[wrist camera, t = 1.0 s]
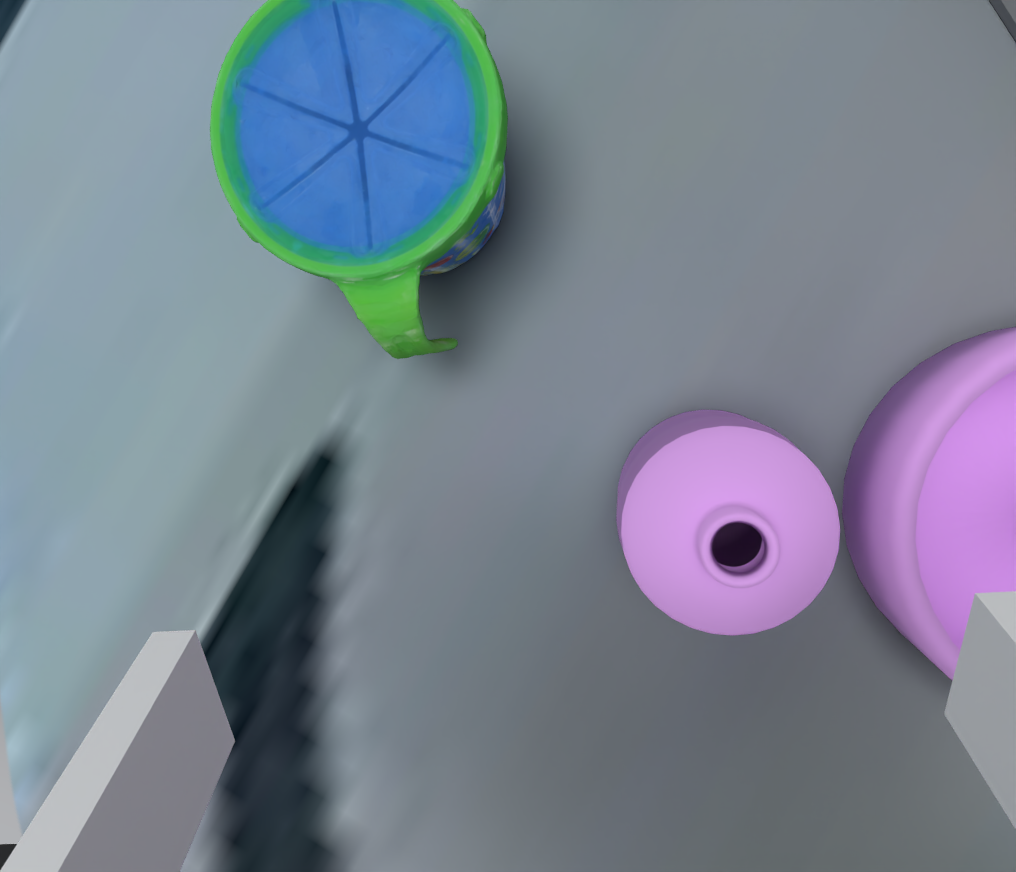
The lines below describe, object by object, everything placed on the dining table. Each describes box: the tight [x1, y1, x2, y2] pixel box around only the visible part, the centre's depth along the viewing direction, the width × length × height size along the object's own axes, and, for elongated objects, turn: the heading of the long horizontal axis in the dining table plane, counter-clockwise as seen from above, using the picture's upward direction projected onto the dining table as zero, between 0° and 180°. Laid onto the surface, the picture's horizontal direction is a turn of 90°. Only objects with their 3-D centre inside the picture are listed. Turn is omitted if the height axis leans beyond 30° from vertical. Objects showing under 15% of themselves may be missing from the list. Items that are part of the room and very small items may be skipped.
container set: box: [616, 327, 1016, 681], centre depth 26 cm, size 25×15×13 cm, turn 88°
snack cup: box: [210, 0, 508, 359], centre depth 31 cm, size 16×11×10 cm
